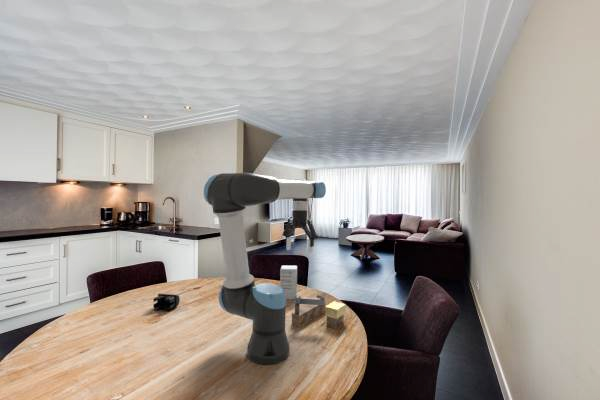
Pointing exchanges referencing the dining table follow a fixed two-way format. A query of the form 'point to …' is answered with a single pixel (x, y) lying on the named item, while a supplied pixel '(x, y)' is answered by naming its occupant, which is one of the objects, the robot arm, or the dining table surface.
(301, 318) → the body
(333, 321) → the block
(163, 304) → the end cap
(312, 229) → the robot arm
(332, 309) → the gold metallic block
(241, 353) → the dining table surface
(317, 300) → the lever
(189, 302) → the dining table surface
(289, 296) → the supplement box
